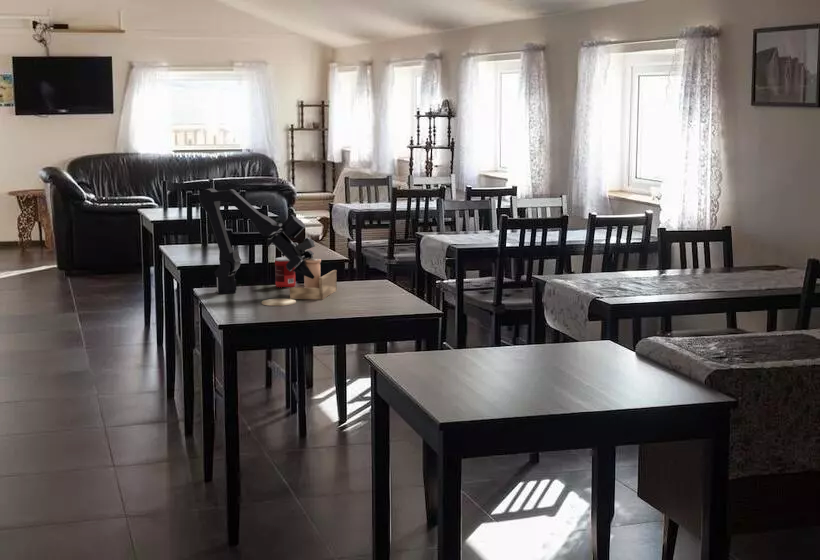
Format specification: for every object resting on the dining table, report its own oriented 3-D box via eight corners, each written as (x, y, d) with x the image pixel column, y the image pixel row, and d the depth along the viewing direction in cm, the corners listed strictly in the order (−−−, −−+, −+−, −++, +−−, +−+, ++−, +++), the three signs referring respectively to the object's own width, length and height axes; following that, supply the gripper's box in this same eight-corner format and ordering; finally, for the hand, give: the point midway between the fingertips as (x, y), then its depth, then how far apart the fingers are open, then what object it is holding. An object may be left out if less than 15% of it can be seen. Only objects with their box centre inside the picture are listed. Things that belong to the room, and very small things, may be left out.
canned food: (297, 285, 432) (296, 257, 431) (293, 288, 424) (292, 259, 423) (278, 284, 433) (277, 256, 431) (273, 288, 425) (272, 259, 424)
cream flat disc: (265, 306, 383) (265, 305, 383) (259, 301, 394) (259, 299, 394) (299, 304, 387) (299, 303, 386) (292, 299, 398) (292, 297, 398)
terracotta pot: (305, 296, 405) (305, 260, 403) (301, 293, 411) (301, 258, 409) (323, 295, 407) (322, 260, 405) (319, 292, 413) (318, 257, 411)
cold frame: (290, 298, 400) (289, 277, 399) (305, 289, 420) (305, 269, 419) (322, 299, 398) (322, 278, 396) (336, 290, 418) (336, 270, 417)
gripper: (293, 233, 397) (324, 265, 397) (307, 228, 415) (336, 258, 415) (273, 255, 400) (303, 286, 399) (288, 249, 418) (317, 278, 417)
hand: (315, 276), depth 408 cm, fingers closed on terracotta pot, 6 cm apart
